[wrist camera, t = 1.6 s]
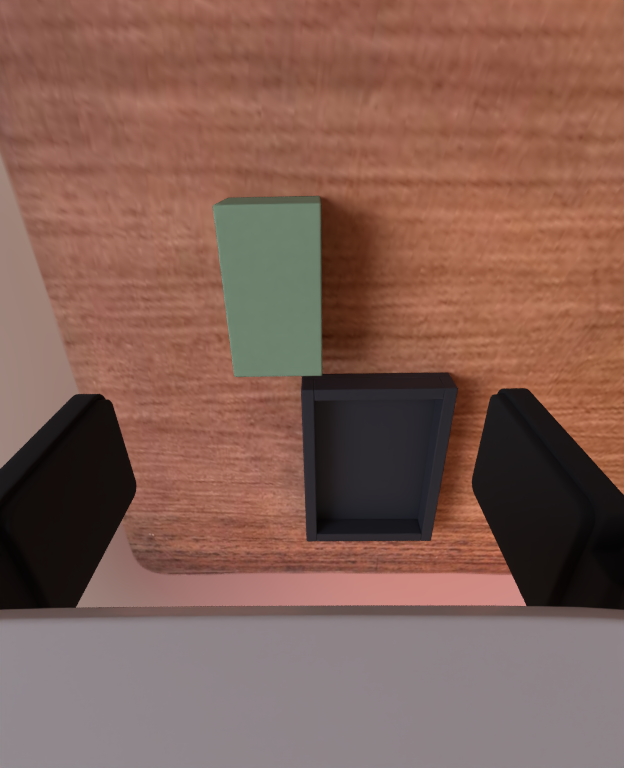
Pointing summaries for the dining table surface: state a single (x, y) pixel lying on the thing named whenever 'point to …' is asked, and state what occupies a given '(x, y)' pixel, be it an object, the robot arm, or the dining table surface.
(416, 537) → the black tray
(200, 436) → the dining table surface
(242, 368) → the green rectangular block
